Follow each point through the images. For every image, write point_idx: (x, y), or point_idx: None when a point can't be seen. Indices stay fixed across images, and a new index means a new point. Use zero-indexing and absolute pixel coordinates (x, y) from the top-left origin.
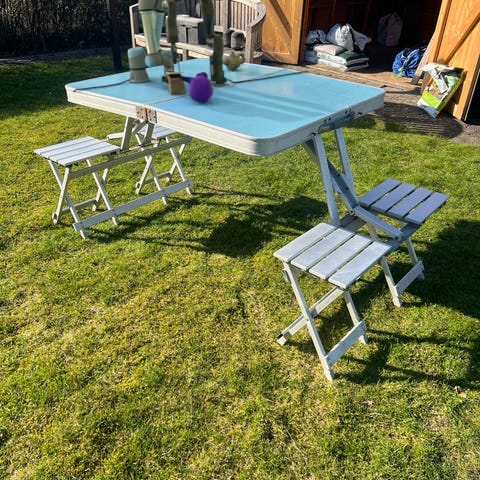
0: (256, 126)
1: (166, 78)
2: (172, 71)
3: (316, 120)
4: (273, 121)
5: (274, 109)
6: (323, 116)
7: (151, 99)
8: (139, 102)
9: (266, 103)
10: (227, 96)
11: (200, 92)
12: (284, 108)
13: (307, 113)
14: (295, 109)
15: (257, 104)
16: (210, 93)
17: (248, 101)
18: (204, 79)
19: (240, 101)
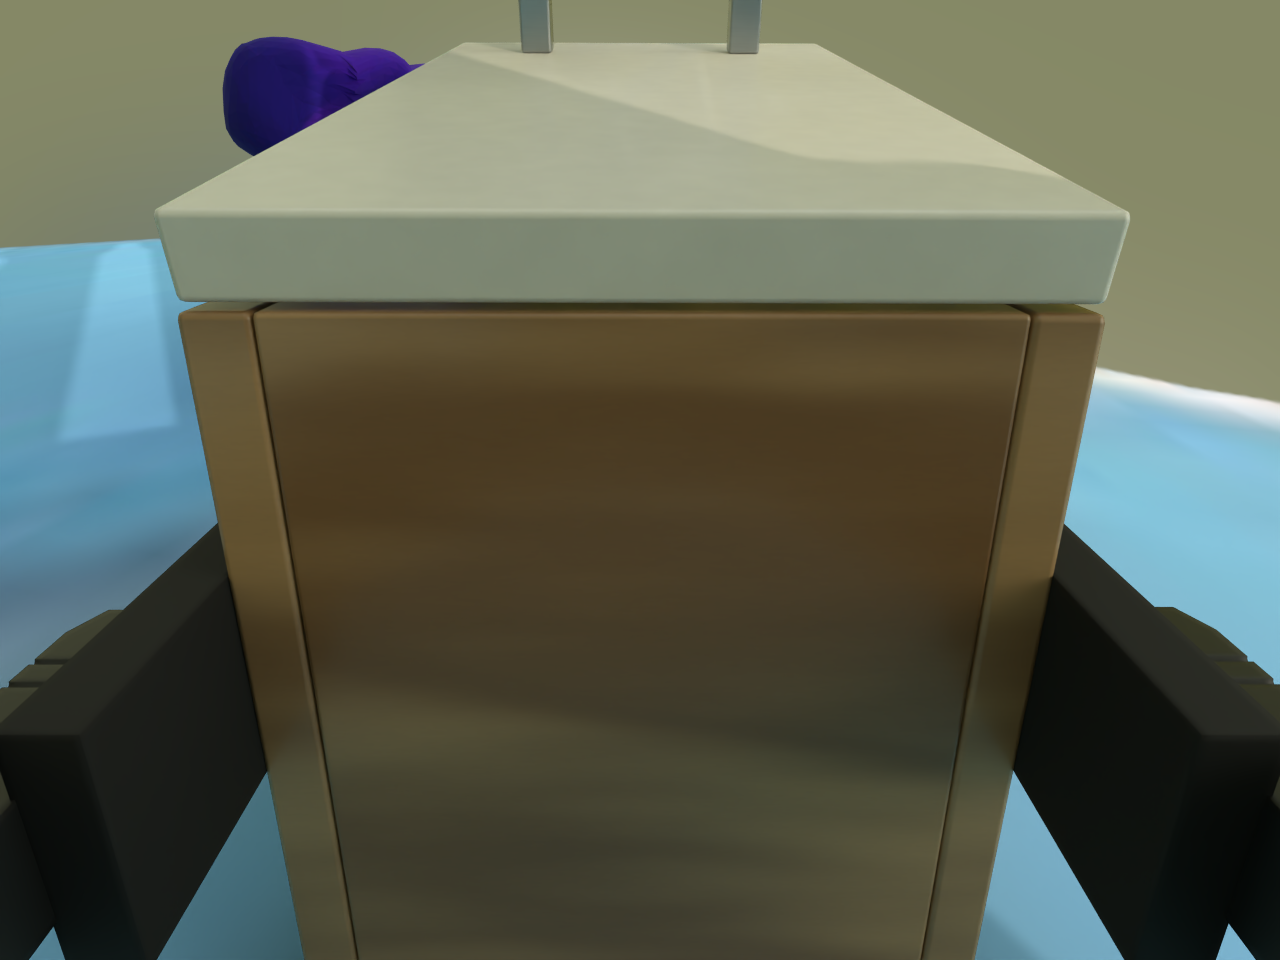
0: None
1: (1150, 620)
2: (734, 28)
3: (138, 240)
4: None
5: (121, 275)
6: (53, 246)
7: (1090, 457)
8: (1200, 415)
9: (12, 304)
10: (29, 401)
11: None
12: (52, 275)
13: (58, 255)
14: (25, 269)
15: (93, 303)
16: None
17: (61, 327)
18: None
19: (117, 332)
